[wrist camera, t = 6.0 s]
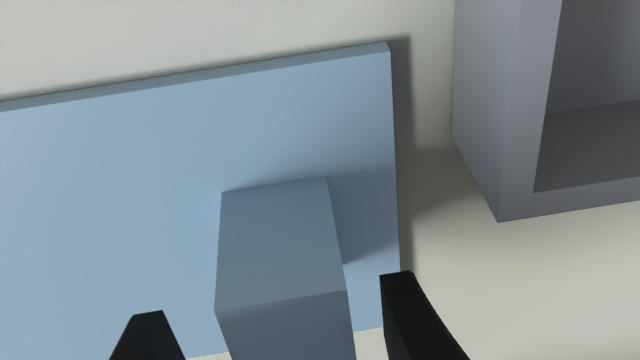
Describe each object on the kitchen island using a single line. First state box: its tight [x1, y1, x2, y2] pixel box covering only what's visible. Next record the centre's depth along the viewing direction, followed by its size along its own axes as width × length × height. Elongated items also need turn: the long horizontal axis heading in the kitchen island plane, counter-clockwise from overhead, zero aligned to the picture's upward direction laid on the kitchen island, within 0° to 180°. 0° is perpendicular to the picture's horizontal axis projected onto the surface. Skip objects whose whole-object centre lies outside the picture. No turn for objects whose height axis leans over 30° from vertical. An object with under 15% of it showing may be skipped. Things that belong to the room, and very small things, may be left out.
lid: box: [0, 41, 400, 360], centre depth 12 cm, size 9×13×4 cm
